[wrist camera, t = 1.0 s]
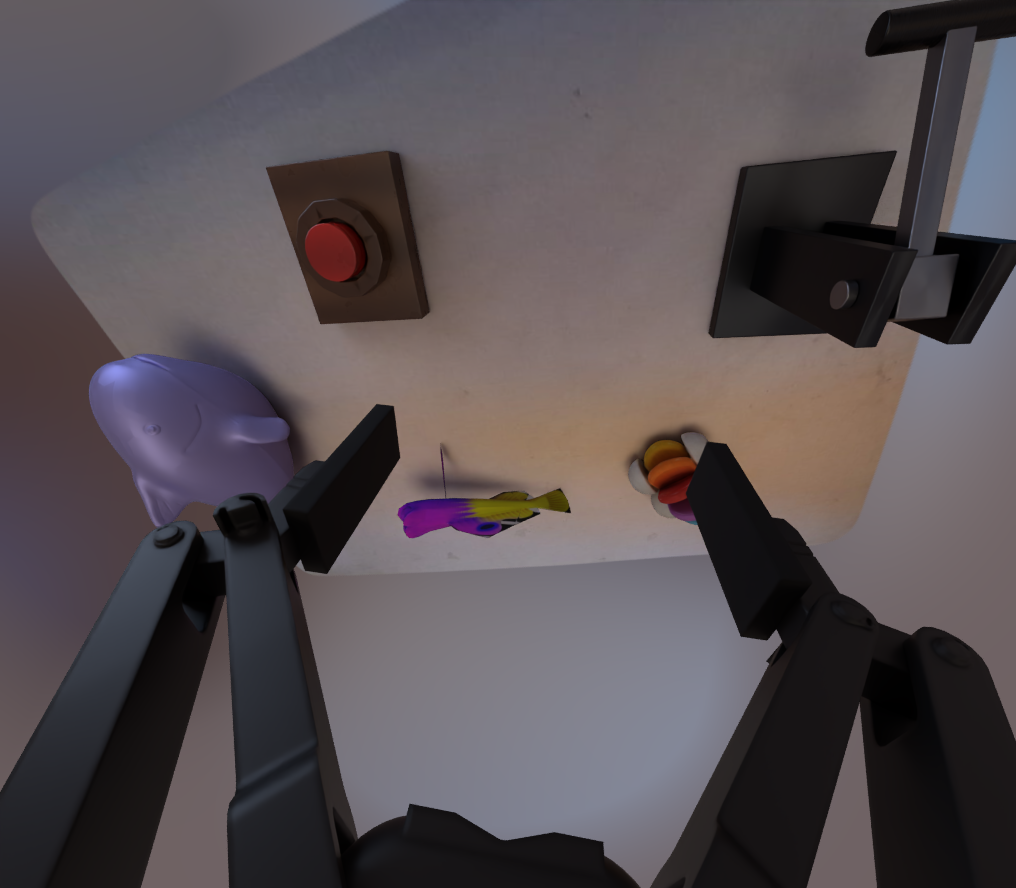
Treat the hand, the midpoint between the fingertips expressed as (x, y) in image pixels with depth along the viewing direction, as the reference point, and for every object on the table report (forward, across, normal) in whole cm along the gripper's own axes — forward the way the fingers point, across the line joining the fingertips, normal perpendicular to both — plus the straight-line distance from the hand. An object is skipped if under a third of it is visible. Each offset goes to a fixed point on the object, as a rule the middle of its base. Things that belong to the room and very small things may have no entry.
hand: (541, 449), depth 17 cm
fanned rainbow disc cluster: (+22, +15, -15) cm, 31 cm away
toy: (+22, -5, -21) cm, 31 cm away
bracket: (+22, +17, +6) cm, 28 cm away
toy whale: (+22, -32, -16) cm, 42 cm away
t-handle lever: (+12, +16, +10) cm, 23 cm away
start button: (+18, -18, +4) cm, 26 cm away
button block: (+22, -18, +4) cm, 28 cm away
